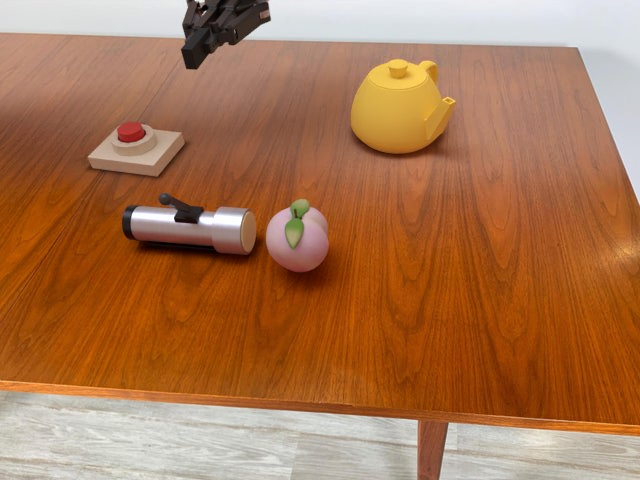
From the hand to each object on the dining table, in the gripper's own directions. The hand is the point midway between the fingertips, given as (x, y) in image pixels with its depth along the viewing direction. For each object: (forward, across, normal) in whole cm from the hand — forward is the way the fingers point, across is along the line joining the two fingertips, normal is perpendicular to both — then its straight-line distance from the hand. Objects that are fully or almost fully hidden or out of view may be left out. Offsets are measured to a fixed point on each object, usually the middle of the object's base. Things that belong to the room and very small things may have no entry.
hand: (188, 59), depth 76 cm
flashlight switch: (+12, 0, -16) cm, 19 cm away
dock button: (-9, +18, -18) cm, 27 cm away
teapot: (-21, -27, -22) cm, 41 cm away
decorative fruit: (+14, -16, -22) cm, 31 cm away
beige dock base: (-9, +18, -22) cm, 30 cm away
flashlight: (+12, 0, -22) cm, 25 cm away
